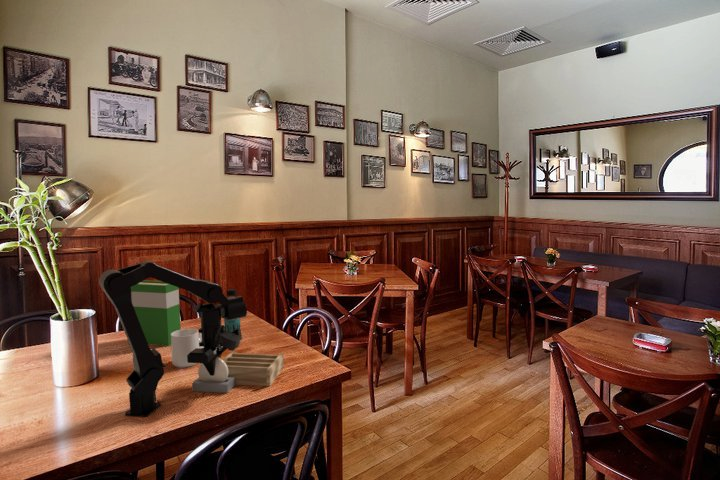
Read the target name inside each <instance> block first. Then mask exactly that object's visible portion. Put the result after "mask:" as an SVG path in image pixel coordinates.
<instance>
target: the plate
mask: <svg viewBox="0 0 720 480" xmlns="http://www.w3.org/2000/svg"><path fill="white" fill-rule="evenodd" d="M198 366H199V367H198V369H197V371H198V373H197V375H198V378H199V377H200V379H201V381H213V382H225V381H226V379H227V377H228V373H229V371H228V367H227V365H226V363H225V362H224V361H223V358H218V357H217V358H216V363H215V373H214V376H211V375H210V374H209V372H208V371H207V369H206V368H205V366H204V364H203V363H199V365H198Z"/></svg>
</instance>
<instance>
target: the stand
mask: <svg viewBox="0 0 720 480" xmlns="http://www.w3.org/2000/svg"><path fill="white" fill-rule="evenodd" d="M191 383H192V384H191V389H192V392H205V393H223V394H224V393H226V394H227V393H229V392H231V390H232V389H233V388H234V387H235V385H236V384H235V377H227V379H226V381H225V382H213V381H201V379H200V377H199V376H198V377H197V378H196V379H195V380H194V381H193V382H191Z"/></svg>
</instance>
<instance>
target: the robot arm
mask: <svg viewBox="0 0 720 480" xmlns="http://www.w3.org/2000/svg"><path fill="white" fill-rule="evenodd" d="M149 278H152V279H154V280H156V281H162V282H165V283H168V284H171V285H173V286H176V287H179V289H182V290H184V291H187V292H189V293H190V294H192V296H195V297H197V298H199V299H200V300H202V301H204V302H207V303H204V304H203V303H201V302H197V304H196V305H195V306H194V307H193V308H192V311H194V312H196V313H198V314H199V313H200V328H198V329H197V330H198V333H199V334H200V333H201V334H202V341H201V342H200V341H199V346H203V347H202V348H196V349H194V350H193V351H191V352H190V353H189V354H188V355H187V362H188V363H196V364H201V363H203V364H204V366H205V368H206V369H207V371H208V372H209V374H210V375H211V376H214V373H215V363H216V358H217V357H218V358H220V359H222V354H223V353H224V352H226V351H227V350H228V351H231V352H232V351H236V349H237V348H239V346H240V342H241V341H242V340H243V335H242V330H241V329H237V328H236V329H235V330H234V331H233V332H231V331H229V332H228V331H225V324H222V319H223V320H224V319H225V320H226V321H229V320H234V319H239V318H240V319H243V318H245V317H246V316H247V314H248V308H247V305H246V303H245V300H244V296H241V295H236V296H233V297H234V298H228V297H227V296H226V295H225V294H224V293H223V292H224V291H223V290H224V289H223V287H222V286H221V285H220V284H217V283H214V282H212V281H210V280H204V279H198V278H197V279H196V278H193V277H189V276H186V275H184V274H181V273H179V272H176V271H173V270H170V269H168V268H166V267H163V266H160V265H158V264H157V263H154V262H153V261H149V260H144V261H142V262H140V263H137V264H133V265H129V266H125V267H122V268H119V269H108V270H106V271H103V272H102V273H101V274H100V276H99V278H98V285H99V287H100V288H101V290H102V291H103V292H104V294H105V296H106V297H107V298H108V300H109V301H110V302H111V304H112V305H113V306H114V309H115V312H116V313H117V316H118V319H119V322H120V323H121V326H122V330H124V334H125V336H126V338H127V341H128V343H129V346H130V349H131V351H132V363H133V368H134V369H133V370H132V372H131V373H130V374H129V375H128V377H127V378H126V379H125V380H126V384H127V385H128V387H130V389H129V393H128V395H129V399H128V400H129V409H128V410H126V412H125V413H124V415H125V416H133V417H134V416H135V417H149V415H151V414H152V413H154V411H156V410H157V409H158V408H159V407H161V405H162V403H161V402H157V396H156V395H157V394H156V391H157V388H158V384H159V383H160V382H159V381H160V380H161V379H162V378H163V376H164V375H165V370H164V369H165V368H166V365H165V364H164V363H163V359H162V355H161V353H160V352H159V351H158V350H157V349H156V348H155V347H153V348H152V349H150V346H149V345H150V344H148V343H147V340H146V338H145V335H144V333H143V330H142V328H141V325H140V322H139V320H138V317H137V315H136V312H135V310H134V307H133V304H132V294H131V286H134V285H136V284H138V283H140V282H142V281H144V280H147V279H149ZM227 298H228V299H227ZM216 303H218V304H216Z"/></svg>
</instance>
